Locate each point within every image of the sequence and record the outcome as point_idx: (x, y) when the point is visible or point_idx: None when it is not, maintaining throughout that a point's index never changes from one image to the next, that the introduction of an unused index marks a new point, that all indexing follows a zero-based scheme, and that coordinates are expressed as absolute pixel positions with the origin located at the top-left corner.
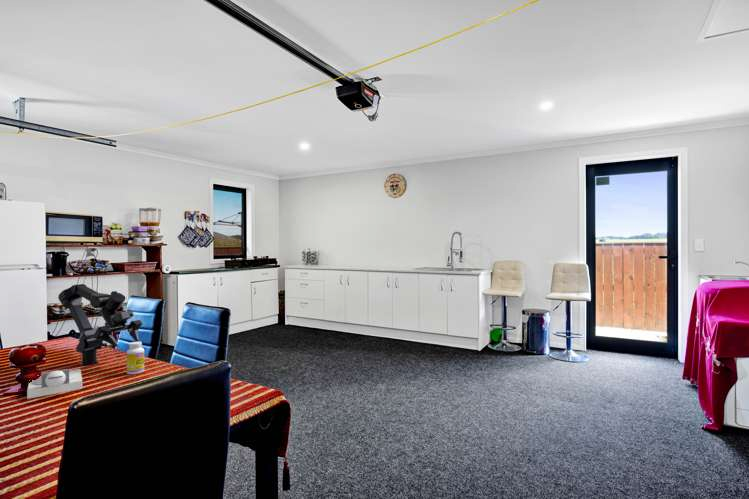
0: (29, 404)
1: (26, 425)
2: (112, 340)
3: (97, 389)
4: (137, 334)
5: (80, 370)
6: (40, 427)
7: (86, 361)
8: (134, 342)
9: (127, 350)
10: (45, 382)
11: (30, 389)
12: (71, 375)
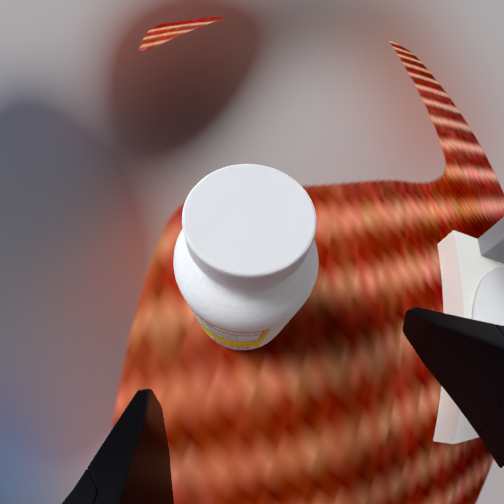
0: None
1: (460, 129)
2: (482, 330)
3: (400, 198)
4: (102, 459)
5: (459, 411)
6: (440, 109)
7: None
8: (251, 238)
9: (314, 264)
10: None
11: None
12: (489, 308)
